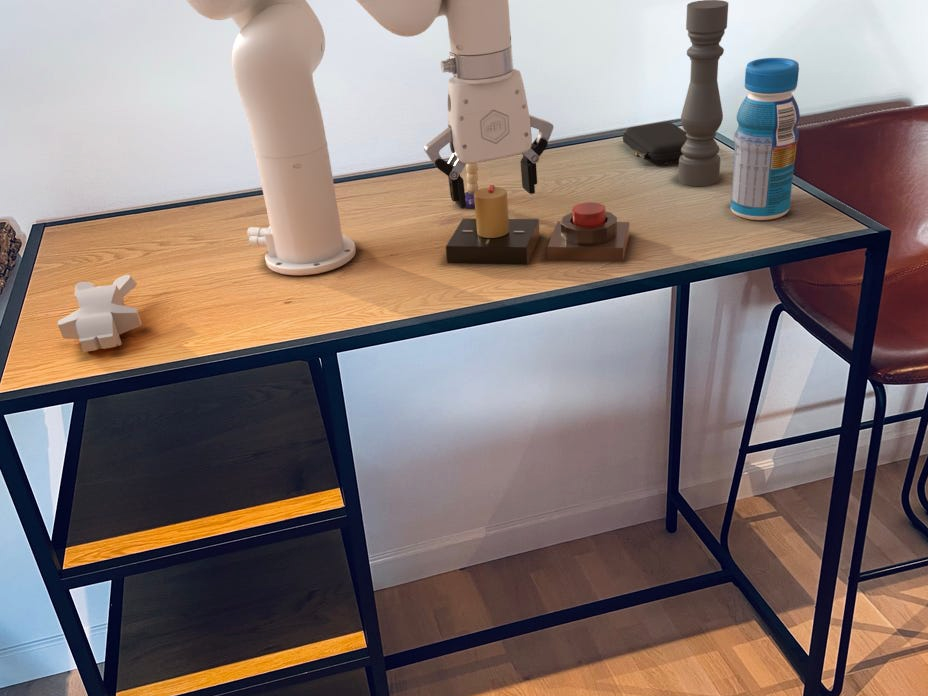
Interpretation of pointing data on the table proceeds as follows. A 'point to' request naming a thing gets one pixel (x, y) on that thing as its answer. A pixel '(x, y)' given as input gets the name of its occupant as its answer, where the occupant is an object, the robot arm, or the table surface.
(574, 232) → the switch box
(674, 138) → the carrying case
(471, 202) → the toy lamp
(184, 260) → the table surface
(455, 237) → the dimmer
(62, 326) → the white blocky figure
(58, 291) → the table surface
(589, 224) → the power button
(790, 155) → the beverage bottle
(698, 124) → the candle holder
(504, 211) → the dimmer knob
